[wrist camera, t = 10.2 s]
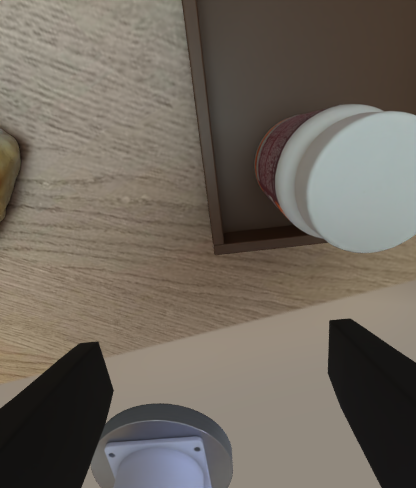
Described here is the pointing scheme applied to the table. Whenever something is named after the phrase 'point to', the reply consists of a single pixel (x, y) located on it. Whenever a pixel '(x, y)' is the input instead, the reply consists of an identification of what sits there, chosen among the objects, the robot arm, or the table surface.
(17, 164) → the pastry
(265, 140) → the pill bottle
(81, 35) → the table surface
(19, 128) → the table surface
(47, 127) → the table surface
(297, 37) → the tray
